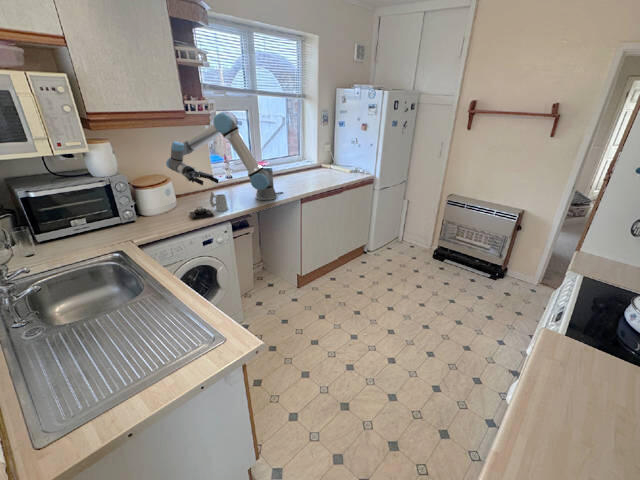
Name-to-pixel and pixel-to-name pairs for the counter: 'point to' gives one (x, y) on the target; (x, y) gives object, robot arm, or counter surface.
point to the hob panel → (201, 214)
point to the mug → (219, 202)
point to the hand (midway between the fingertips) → (210, 182)
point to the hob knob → (200, 208)
